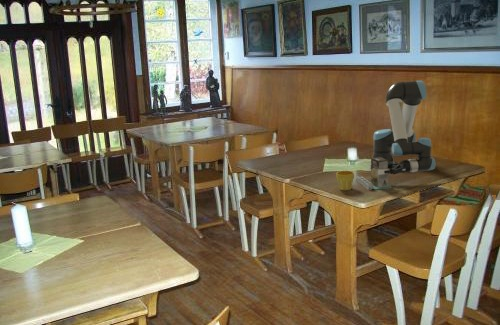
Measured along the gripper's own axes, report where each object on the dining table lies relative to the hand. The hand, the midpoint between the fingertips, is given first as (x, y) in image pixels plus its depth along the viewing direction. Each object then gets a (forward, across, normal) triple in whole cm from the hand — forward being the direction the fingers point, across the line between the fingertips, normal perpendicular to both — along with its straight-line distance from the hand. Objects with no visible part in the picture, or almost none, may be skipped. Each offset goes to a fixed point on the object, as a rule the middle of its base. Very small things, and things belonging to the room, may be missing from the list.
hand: (373, 169), depth 293 cm
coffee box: (-3, 0, -10) cm, 11 cm away
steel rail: (+4, +5, -10) cm, 12 cm away
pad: (-3, 0, -10) cm, 11 cm away
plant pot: (+17, +2, -11) cm, 20 cm away
